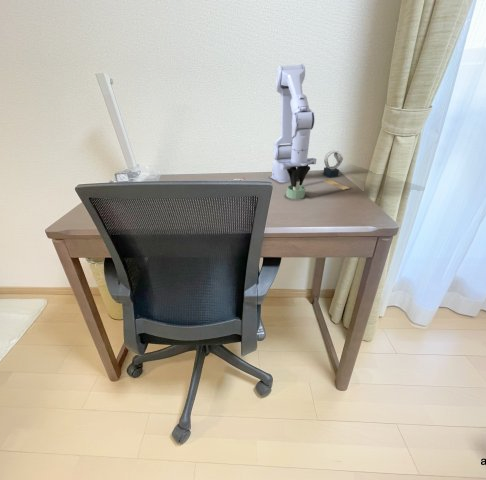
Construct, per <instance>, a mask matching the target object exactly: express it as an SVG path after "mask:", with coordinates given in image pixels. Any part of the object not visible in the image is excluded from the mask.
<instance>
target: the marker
mask: <svg viewBox="0 0 486 480" xmlns="http://www.w3.org/2000/svg"><path fill="white" fill-rule="evenodd" d="M299 185H300V178H299V177H297V183H296V187H293V190H299Z"/></svg>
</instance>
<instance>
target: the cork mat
mask: <svg viewBox="0 0 486 480" xmlns="http://www.w3.org/2000/svg"><path fill="white" fill-rule="evenodd" d="M323 182H324V183H327V184H329V185H332V186H334V187H336V188H338V189H341V190H343V191H346V190H349V189H351V187H349V186H347V185H344V184H342V183H340V182H337V181H335V180H332V179H326V180H323Z"/></svg>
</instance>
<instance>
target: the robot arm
mask: <svg viewBox="0 0 486 480" xmlns="http://www.w3.org/2000/svg"><path fill="white" fill-rule="evenodd" d="M305 77H306V67H305V65H304V64H303V63H301V64H294V65H292V64H291V65H279V66H278V67H277V69H276V75H275V88H276V92H277V93H279V94H280V136H279V138H277V139H276V140H275V141H274V143H273V150H272V153H273V155H272V156H273V159H274V160H273V162H272V164H271V166H272V167H271V176H269V178H270V179H273V180H274V181H277V182H279V183H286V182H290V185H292V186H293V187H296V183H297V177H299V178H300V185H303V183H304V181H305V178H306V176H307V174H308V173H309V172H310V170H311V166H309V165H316V164H317V158H314V157H310V158H309V157H308V155H309V146H310V139H311V130H313V129H314V126H315V121H316V117H315V116H316V115H315V112H314V111H313V110H312V109H311V108H310V107H309V102H308V96H307V95H305V94H304V93H303V84H304V81H305Z"/></svg>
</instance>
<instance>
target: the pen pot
mask: <svg viewBox="0 0 486 480" xmlns="http://www.w3.org/2000/svg"><path fill="white" fill-rule="evenodd" d="M306 189H307V188H306V186H305V185H304V184H302V185H299V190H293V186H292V185H291V184H288V185H287V186H286V192H285V195H286V197H287V198H289V199H292V200H301V199H304V198H305V197H306V196H305V194H306Z"/></svg>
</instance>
